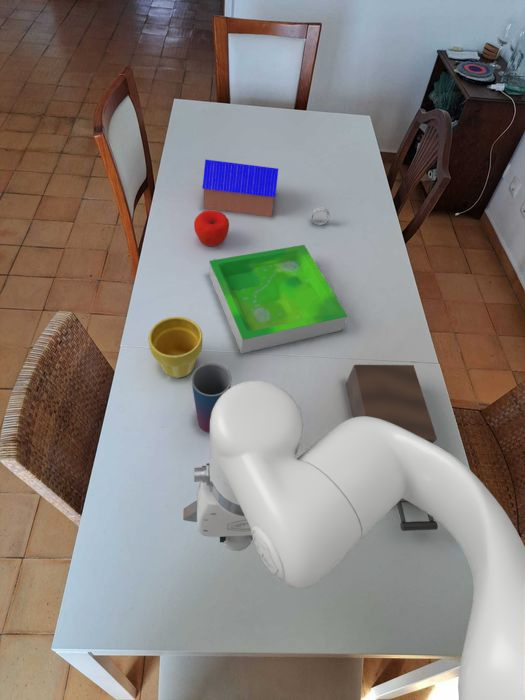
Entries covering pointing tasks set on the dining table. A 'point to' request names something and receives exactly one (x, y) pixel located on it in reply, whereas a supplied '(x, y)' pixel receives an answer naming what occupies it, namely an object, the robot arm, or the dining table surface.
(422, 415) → the cabinet
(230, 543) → the rook chess piece
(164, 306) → the dining table surface
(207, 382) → the cup
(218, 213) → the apple
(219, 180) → the house
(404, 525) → the drawer
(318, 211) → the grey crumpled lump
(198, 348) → the flower pot
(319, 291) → the tray
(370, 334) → the dining table surface
